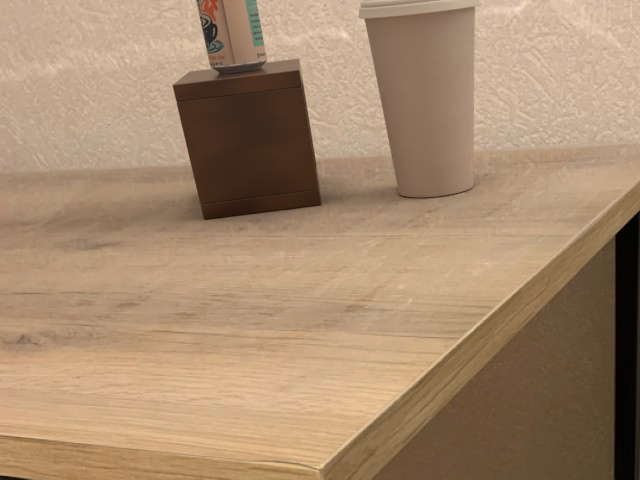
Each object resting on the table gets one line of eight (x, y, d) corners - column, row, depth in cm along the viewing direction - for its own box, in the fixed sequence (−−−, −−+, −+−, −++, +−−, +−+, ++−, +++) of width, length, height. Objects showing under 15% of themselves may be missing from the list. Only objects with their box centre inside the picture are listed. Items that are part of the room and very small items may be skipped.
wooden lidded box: (203, 219, 76) (172, 84, 70) (215, 191, 87) (188, 71, 81) (321, 204, 77) (299, 69, 71) (318, 178, 87) (299, 58, 82)
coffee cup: (513, 184, 76) (503, -31, 68) (419, 207, 72) (395, -19, 64) (450, 173, 83) (434, -24, 74) (361, 193, 79) (332, -13, 71)
